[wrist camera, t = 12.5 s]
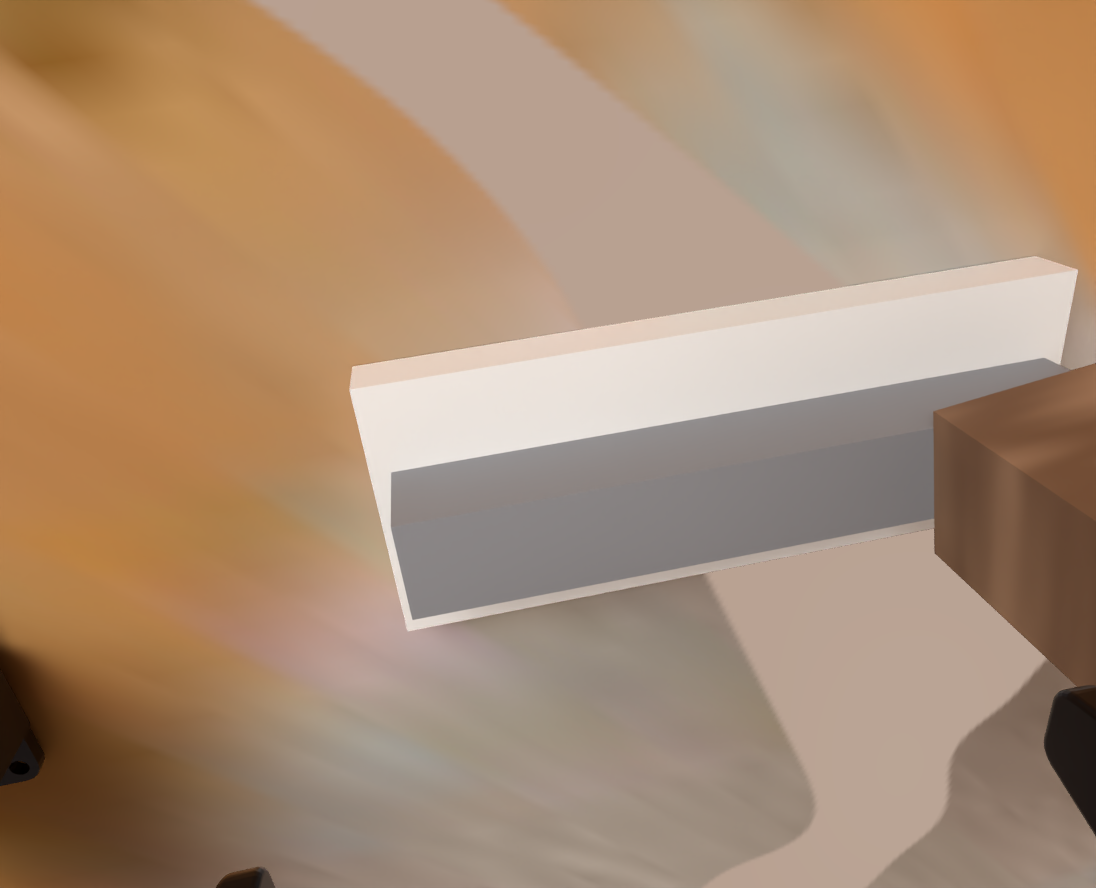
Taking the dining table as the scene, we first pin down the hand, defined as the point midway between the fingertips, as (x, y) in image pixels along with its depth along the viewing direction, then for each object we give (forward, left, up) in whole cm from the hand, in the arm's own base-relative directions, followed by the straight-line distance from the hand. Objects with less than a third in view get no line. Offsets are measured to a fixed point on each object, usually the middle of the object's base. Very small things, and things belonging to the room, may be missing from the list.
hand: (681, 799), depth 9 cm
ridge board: (+5, -3, -13) cm, 14 cm away
